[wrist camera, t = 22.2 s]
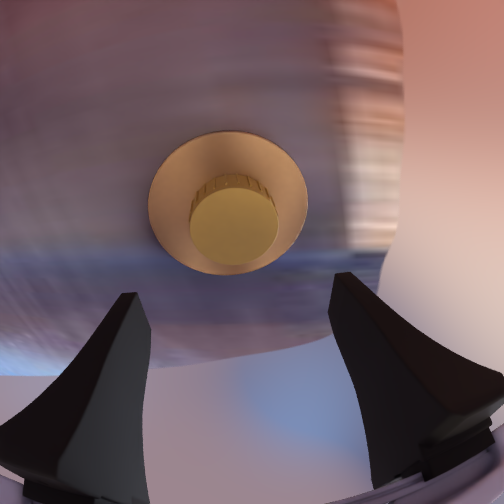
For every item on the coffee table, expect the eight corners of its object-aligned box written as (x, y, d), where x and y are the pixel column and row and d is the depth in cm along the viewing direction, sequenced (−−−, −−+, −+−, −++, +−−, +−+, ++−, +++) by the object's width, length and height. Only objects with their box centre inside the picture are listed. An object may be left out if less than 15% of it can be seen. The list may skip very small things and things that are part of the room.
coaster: (184, 286, 20) (184, 290, 20) (123, 164, 15) (121, 167, 14) (316, 248, 19) (318, 252, 19) (287, 110, 14) (289, 111, 14)
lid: (272, 244, 18) (278, 263, 17) (194, 249, 18) (193, 268, 16) (275, 171, 16) (282, 184, 14) (186, 175, 15) (183, 189, 14)
